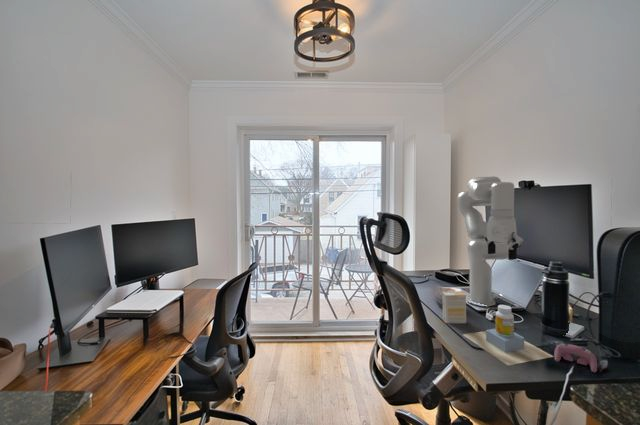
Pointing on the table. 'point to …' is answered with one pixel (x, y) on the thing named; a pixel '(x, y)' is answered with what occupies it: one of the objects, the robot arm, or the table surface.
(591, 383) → the table surface
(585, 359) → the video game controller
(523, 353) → the base board
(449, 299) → the supplement box
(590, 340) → the table surface
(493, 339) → the slate block
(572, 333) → the hard drive
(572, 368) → the table surface
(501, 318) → the supplement bottle
